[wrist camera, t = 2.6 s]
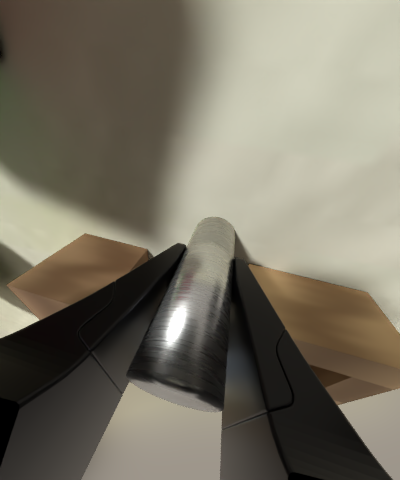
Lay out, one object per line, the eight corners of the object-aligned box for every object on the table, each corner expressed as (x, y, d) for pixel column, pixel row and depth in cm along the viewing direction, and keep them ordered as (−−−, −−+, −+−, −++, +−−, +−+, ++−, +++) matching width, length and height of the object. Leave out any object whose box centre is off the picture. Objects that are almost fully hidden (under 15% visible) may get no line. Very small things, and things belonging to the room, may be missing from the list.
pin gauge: (240, 222, 8) (236, 400, 3) (229, 255, 10) (213, 417, 4) (197, 212, 9) (117, 360, 3) (193, 246, 10) (132, 388, 5)
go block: (367, 292, 9) (434, 378, 6) (305, 341, 13) (325, 408, 10) (249, 263, 10) (252, 326, 7) (224, 318, 14) (219, 374, 11)
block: (147, 248, 11) (94, 314, 7) (151, 290, 14) (115, 354, 10) (86, 232, 12) (3, 286, 8) (102, 276, 15) (48, 332, 11)
